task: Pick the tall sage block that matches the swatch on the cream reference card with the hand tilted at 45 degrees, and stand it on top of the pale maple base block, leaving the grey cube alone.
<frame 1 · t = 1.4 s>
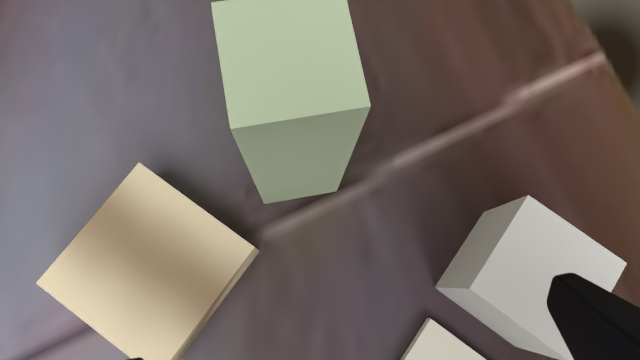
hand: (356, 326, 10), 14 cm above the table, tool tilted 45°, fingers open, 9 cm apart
grey cube: (498, 277, 24), on the table
sage block: (294, 162, 25), on the table
maple base: (166, 267, 23), on the table
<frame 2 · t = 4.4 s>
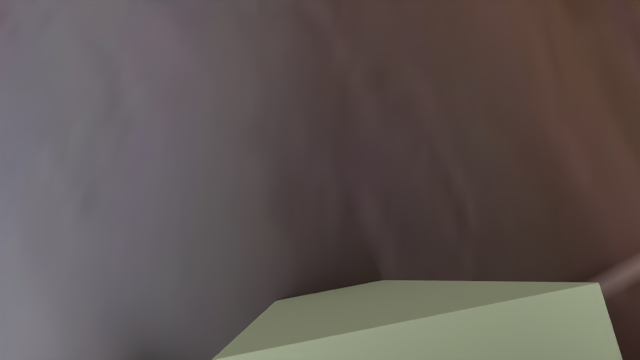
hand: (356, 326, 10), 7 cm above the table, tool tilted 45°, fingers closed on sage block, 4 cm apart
sage block: (340, 347, 16), on the table, touching gripper
when the fingers open (10 cm above the table, at t = 7.3 s): sage block drops 1 cm, resting on maple base.
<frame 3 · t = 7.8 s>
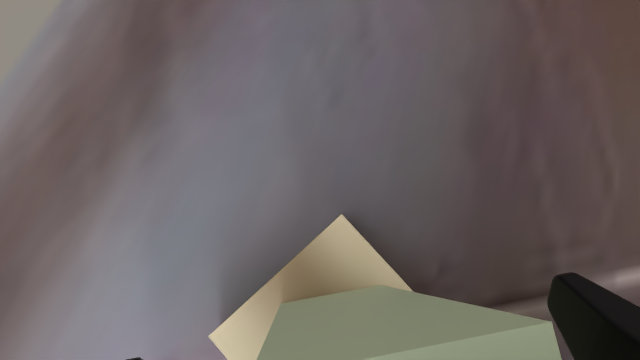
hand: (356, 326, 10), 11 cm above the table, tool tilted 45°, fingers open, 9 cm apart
sage block: (340, 346, 17), point 3 cm above the table, touching maple base
maple base: (331, 331, 20), on the table, touching sage block
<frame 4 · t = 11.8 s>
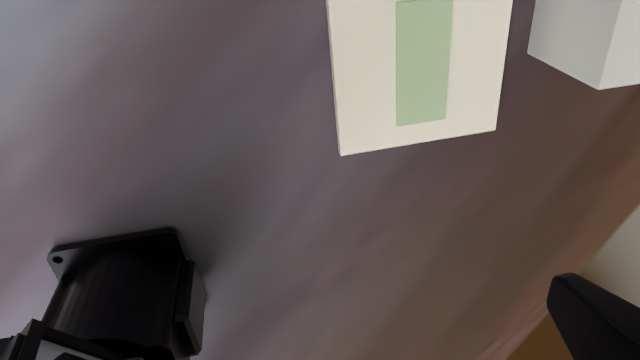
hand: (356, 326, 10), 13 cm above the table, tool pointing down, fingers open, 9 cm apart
reference card: (416, 60, 20), on the table
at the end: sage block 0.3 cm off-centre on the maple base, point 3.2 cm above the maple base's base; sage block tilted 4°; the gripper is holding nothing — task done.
